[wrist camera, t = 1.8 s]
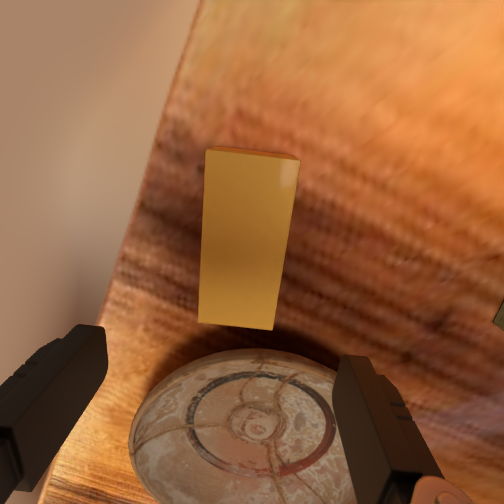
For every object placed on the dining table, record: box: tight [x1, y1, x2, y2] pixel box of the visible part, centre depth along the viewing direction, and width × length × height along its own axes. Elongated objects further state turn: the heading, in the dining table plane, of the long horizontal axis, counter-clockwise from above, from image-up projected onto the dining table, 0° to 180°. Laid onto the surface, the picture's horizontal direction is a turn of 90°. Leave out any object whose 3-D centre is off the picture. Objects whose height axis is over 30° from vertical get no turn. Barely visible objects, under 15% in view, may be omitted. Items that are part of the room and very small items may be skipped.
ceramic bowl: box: [128, 348, 357, 504], centre depth 28 cm, size 23×24×5 cm
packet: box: [198, 146, 301, 330], centre depth 21 cm, size 12×6×4 cm, turn 174°
